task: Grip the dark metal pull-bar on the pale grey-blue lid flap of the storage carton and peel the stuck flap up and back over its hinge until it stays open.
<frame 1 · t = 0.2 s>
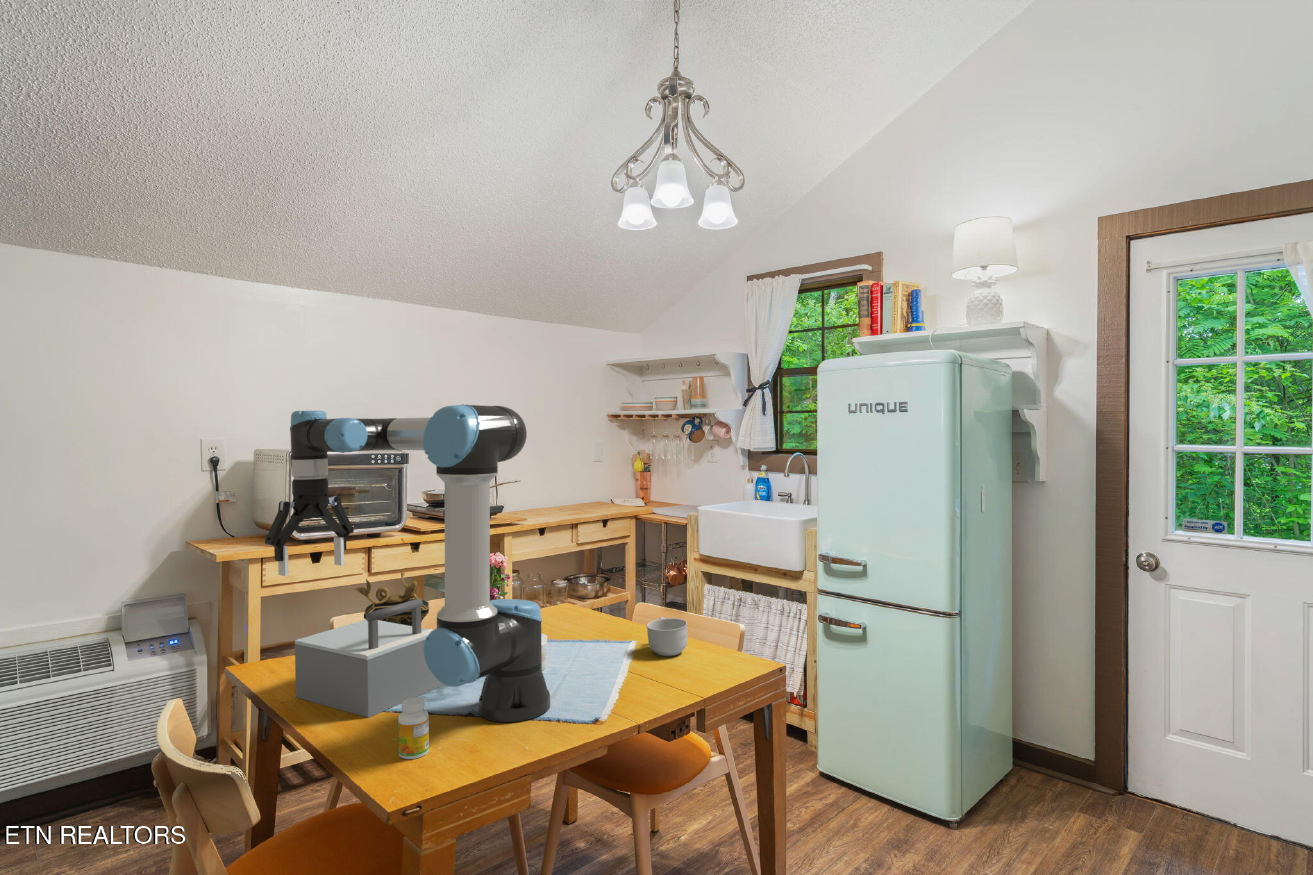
hand: (312, 570, 164), 28 cm above the table, fingers open, 13 cm apart
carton: (369, 691, 163), on the table
lid flap: (368, 620, 163), point 16 cm above the table, hinge at 0.0°
decorative box: (391, 645, 199), on the table
teacup: (667, 651, 191), on the table
supplement bottle: (413, 754, 133), on the table
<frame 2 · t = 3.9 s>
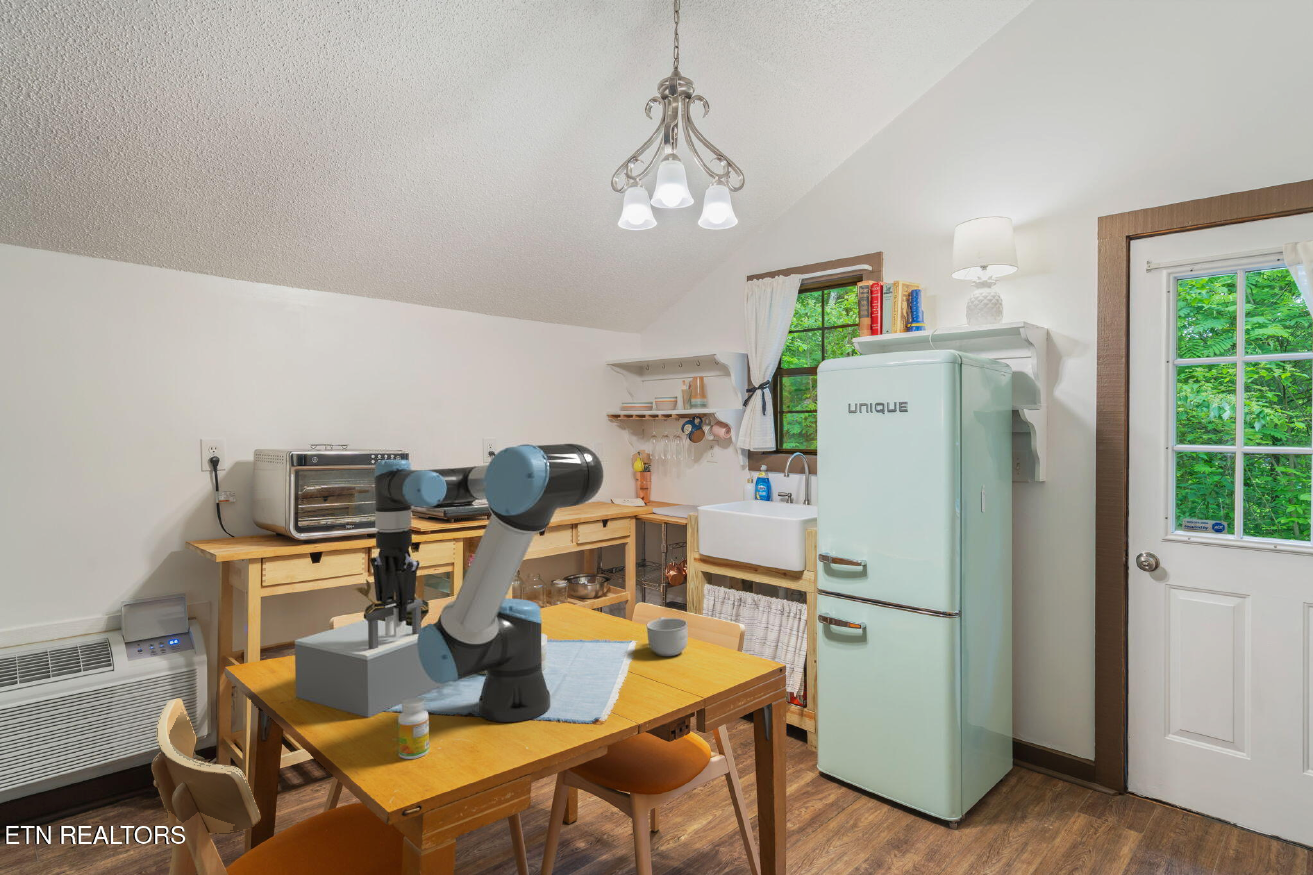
hand: (395, 634, 159), 14 cm above the table, fingers closed on lid flap, 2 cm apart
lid flap: (368, 620, 163), point 16 cm above the table, hinge at 0.0°, touching gripper
everything else where it was.
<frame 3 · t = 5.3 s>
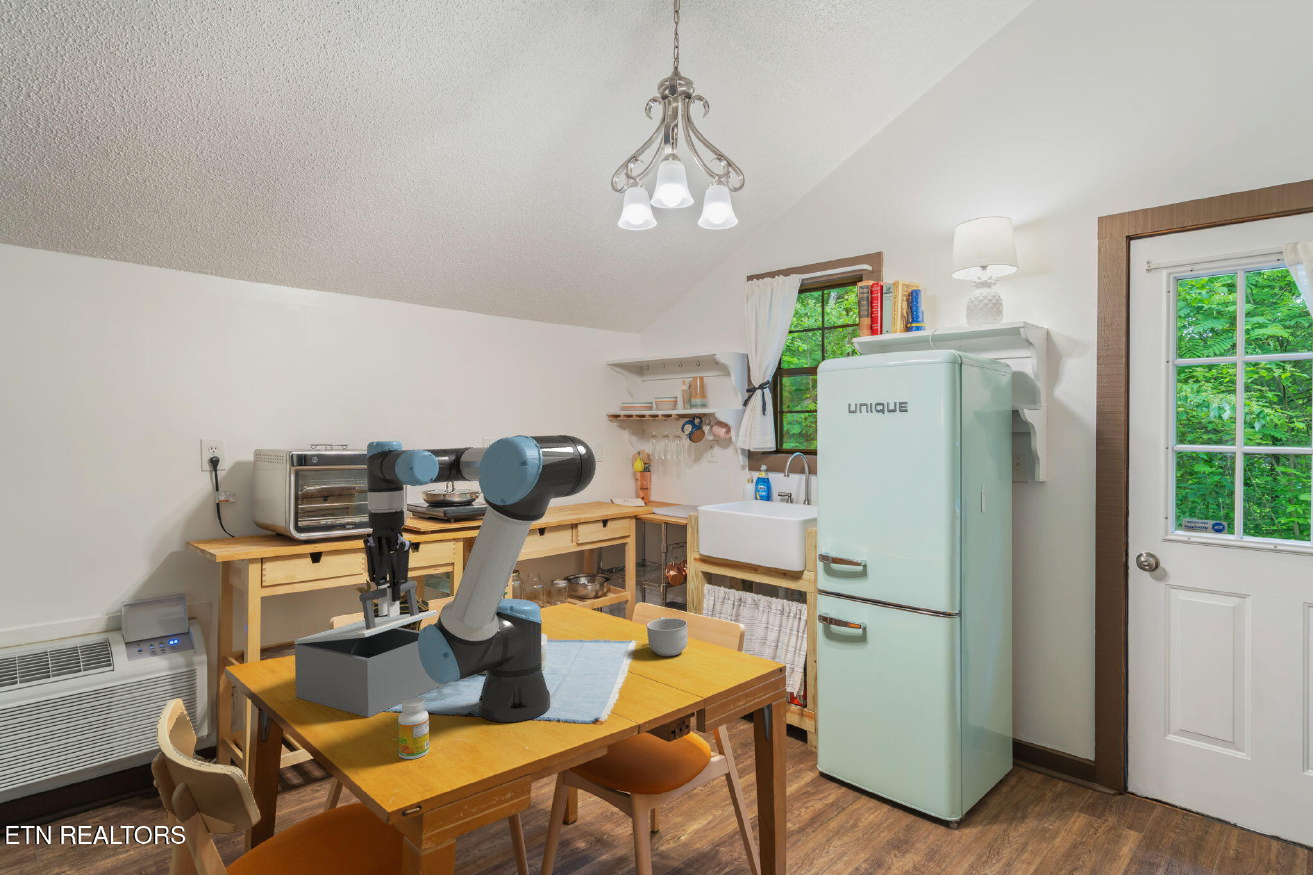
hand: (389, 614, 160), 19 cm above the table, fingers open, 2 cm apart
lid flap: (364, 609, 164), point 19 cm above the table, hinge at 11.4°, touching gripper
everything else where it was.
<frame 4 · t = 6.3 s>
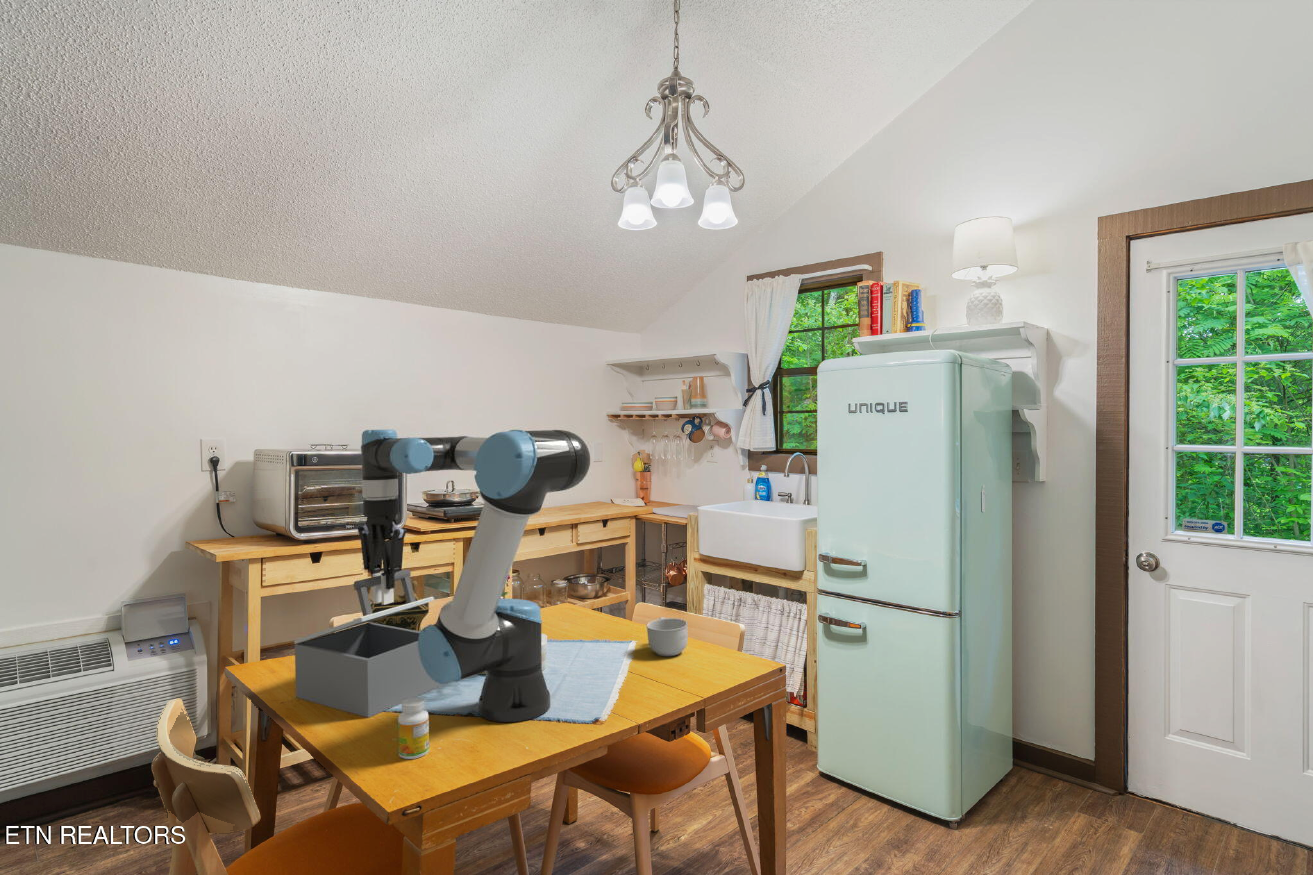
hand: (383, 602, 160), 21 cm above the table, fingers open, 2 cm apart
lid flap: (361, 602, 164), point 20 cm above the table, hinge at 19.2°, touching gripper
everything else where it was.
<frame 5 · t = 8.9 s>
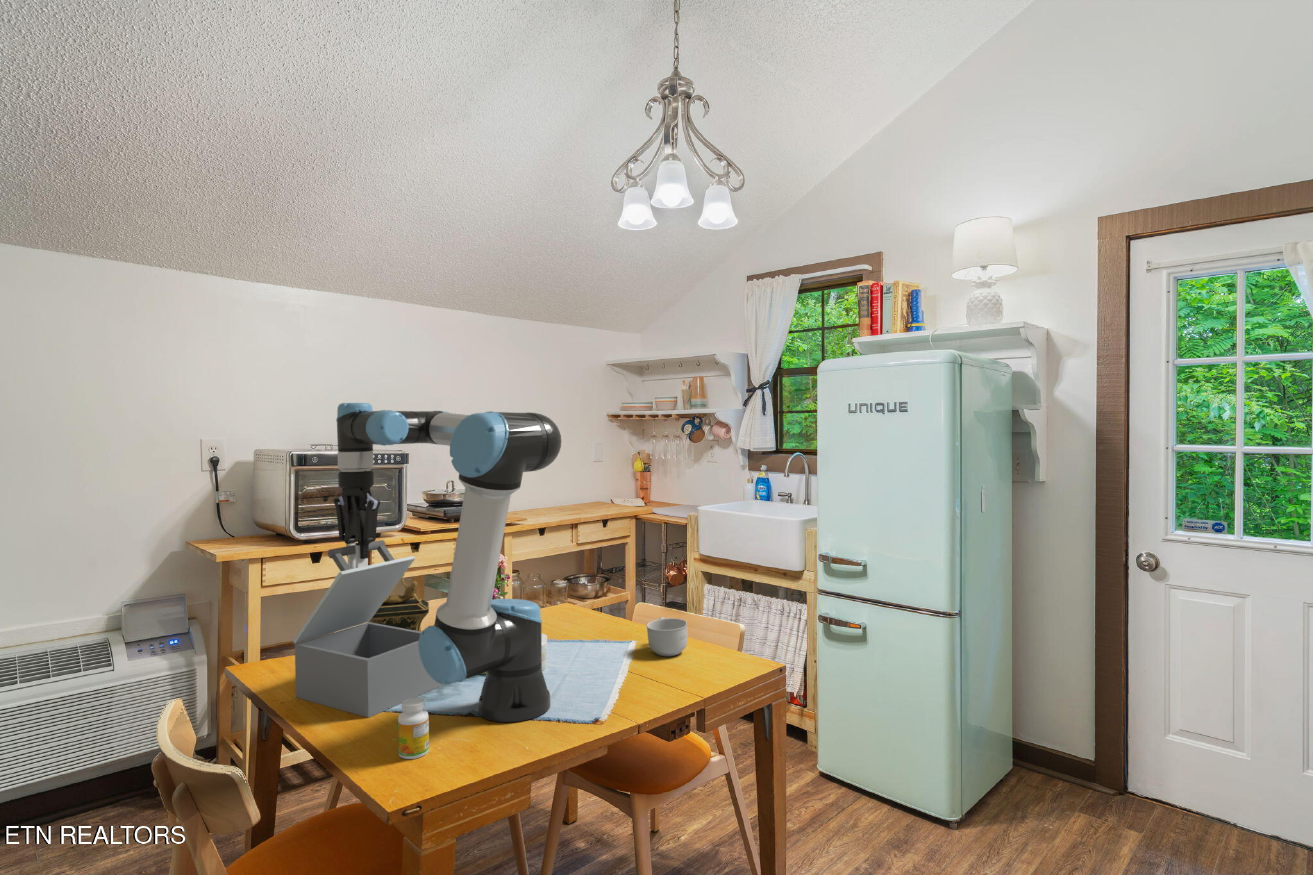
hand: (358, 571, 164), 27 cm above the table, fingers closed on lid flap, 2 cm apart
lid flap: (347, 585, 166), point 24 cm above the table, hinge at 46.0°, touching gripper
everything else where it was.
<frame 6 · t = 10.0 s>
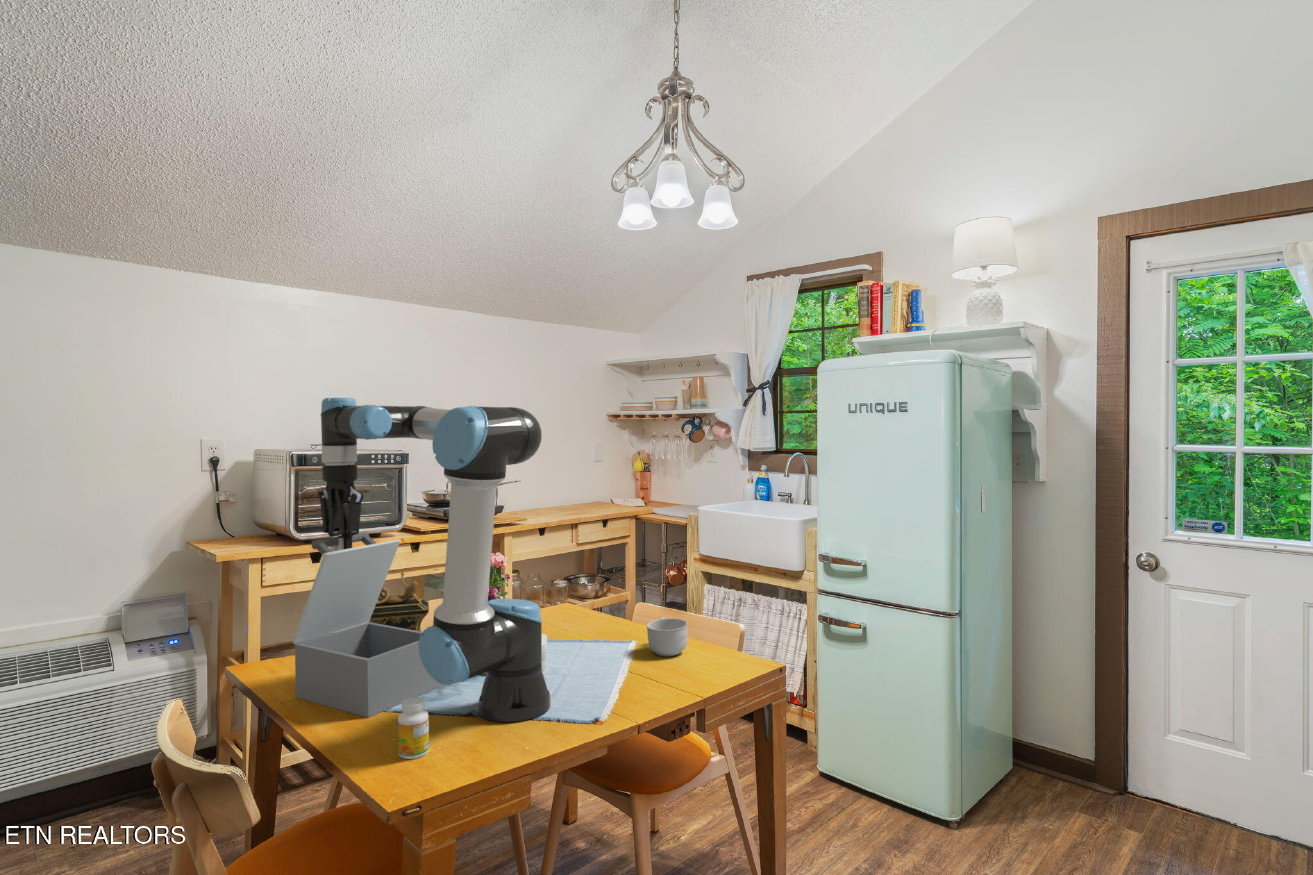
hand: (341, 564, 167), 29 cm above the table, fingers closed on lid flap, 2 cm apart
lid flap: (338, 580, 168), point 25 cm above the table, hinge at 61.0°, touching gripper
everything else where it was.
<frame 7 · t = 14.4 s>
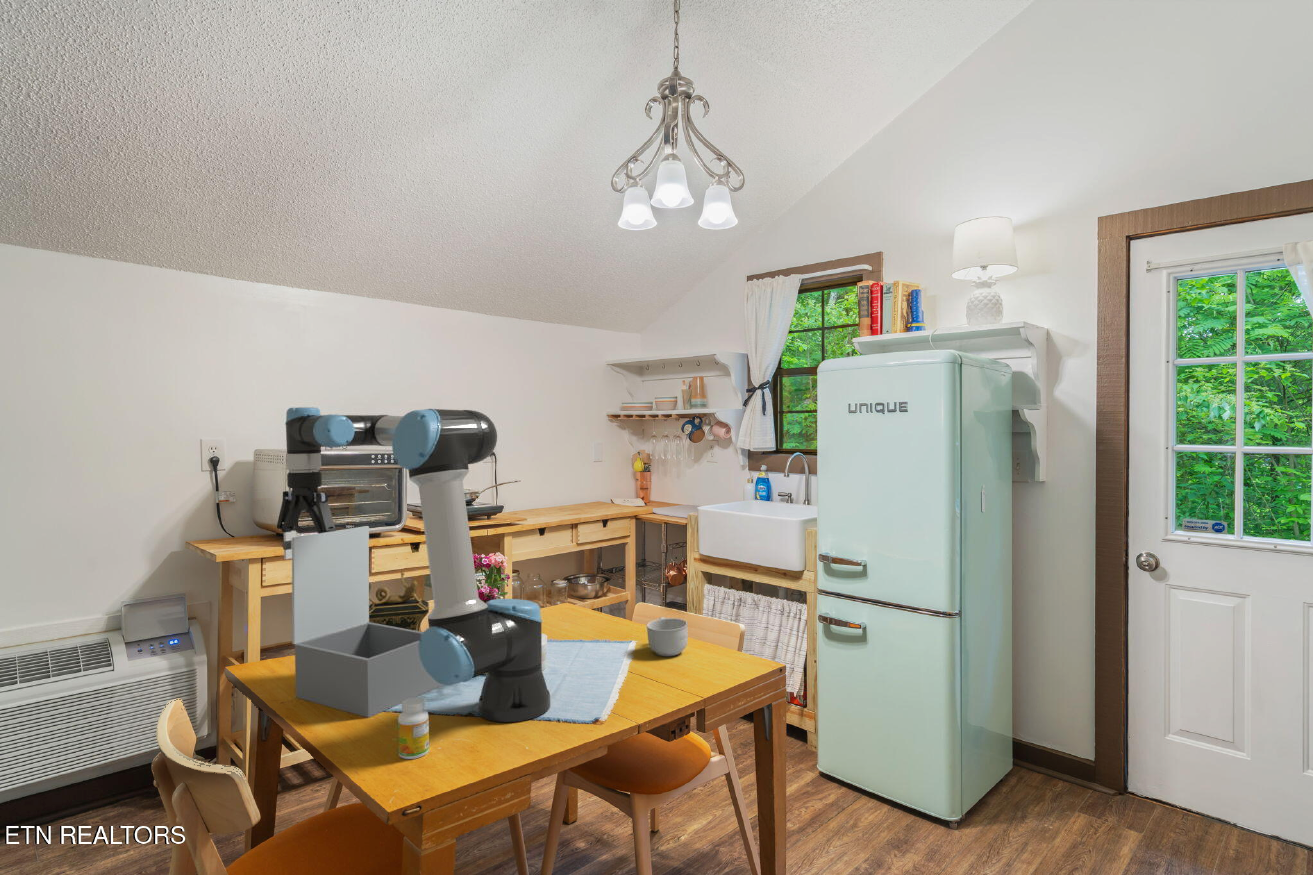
hand: (306, 560, 173), 28 cm above the table, fingers open, 12 cm apart
lid flap: (321, 579, 171), point 24 cm above the table, hinge at 88.5°, touching gripper
everything else where it was.
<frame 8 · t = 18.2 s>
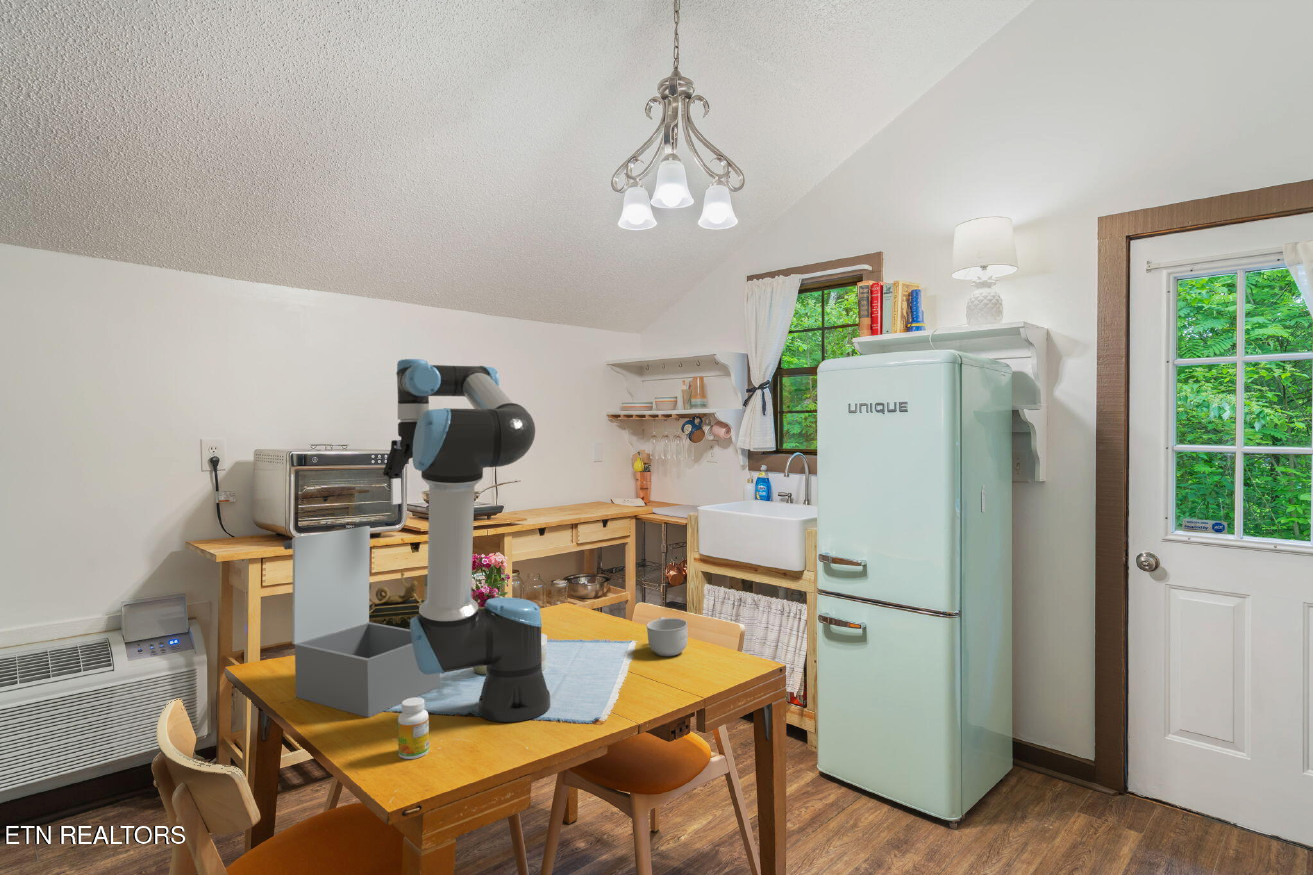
hand: (415, 505, 180), 41 cm above the table, fingers open, 13 cm apart
lid flap: (321, 579, 171), point 24 cm above the table, hinge at 87.6°
everything else where it was.
at the end: lid flap at +88° (first picture: +0°); the gripper is holding nothing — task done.
